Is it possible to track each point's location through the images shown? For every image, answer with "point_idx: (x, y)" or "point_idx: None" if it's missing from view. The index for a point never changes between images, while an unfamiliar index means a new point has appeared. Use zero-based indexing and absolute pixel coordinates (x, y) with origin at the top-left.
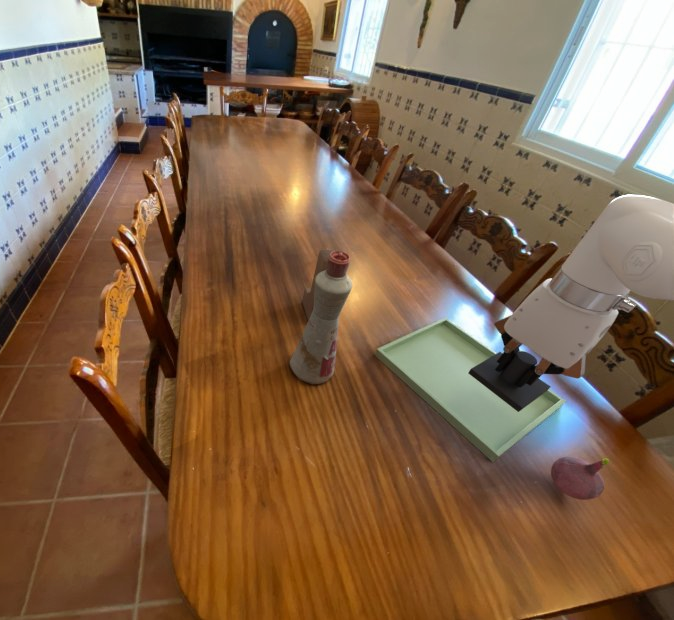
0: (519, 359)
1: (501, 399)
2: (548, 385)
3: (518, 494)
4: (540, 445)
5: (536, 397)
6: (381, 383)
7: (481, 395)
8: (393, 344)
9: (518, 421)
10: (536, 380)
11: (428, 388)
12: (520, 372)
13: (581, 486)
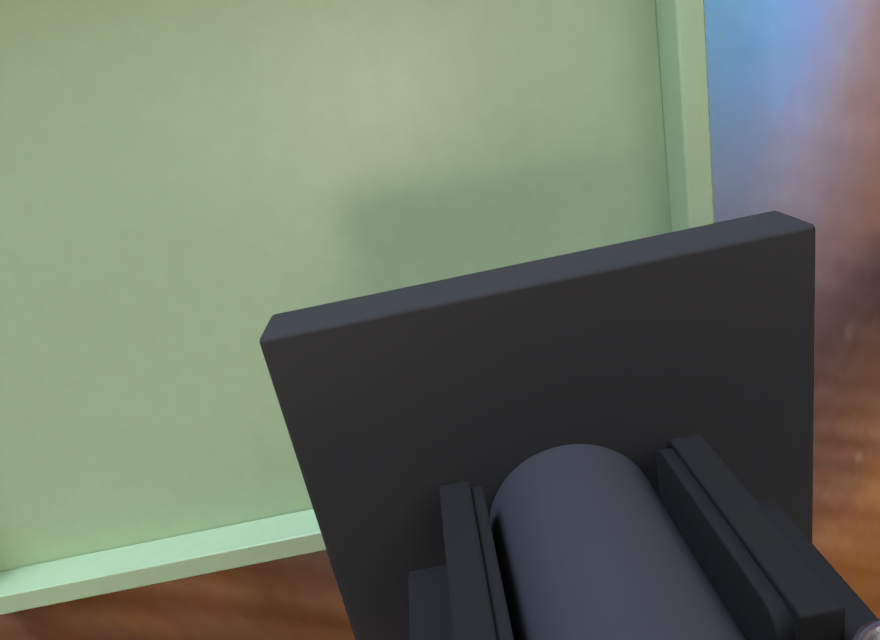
0: None
1: (458, 96)
2: (797, 241)
3: (838, 444)
4: (759, 127)
5: (810, 466)
6: (191, 637)
7: (395, 207)
8: None
9: (615, 133)
10: (787, 523)
11: (274, 469)
12: None
13: None
